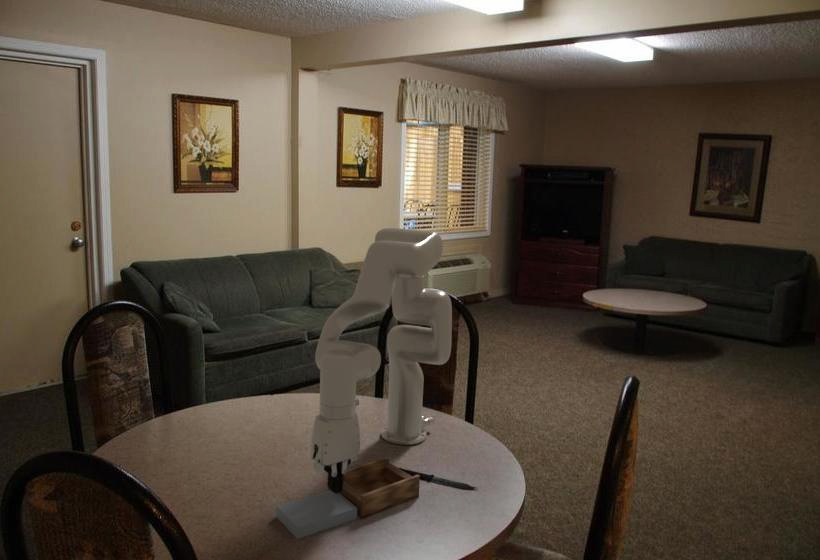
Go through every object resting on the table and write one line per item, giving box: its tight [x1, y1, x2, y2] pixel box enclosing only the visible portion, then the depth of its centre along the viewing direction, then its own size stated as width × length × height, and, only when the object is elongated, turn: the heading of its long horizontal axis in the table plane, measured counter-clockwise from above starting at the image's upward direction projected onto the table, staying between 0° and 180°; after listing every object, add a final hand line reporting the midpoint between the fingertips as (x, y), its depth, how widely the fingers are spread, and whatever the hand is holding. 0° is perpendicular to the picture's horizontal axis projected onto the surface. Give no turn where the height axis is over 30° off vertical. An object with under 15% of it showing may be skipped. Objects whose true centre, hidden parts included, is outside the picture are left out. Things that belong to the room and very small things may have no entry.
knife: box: [398, 467, 477, 490], centre depth 156 cm, size 21×1×3 cm
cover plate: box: [275, 489, 358, 540], centre depth 137 cm, size 14×10×3 cm
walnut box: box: [338, 456, 421, 520], centre depth 146 cm, size 16×12×5 cm
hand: (335, 490), depth 139 cm, fingers closed
